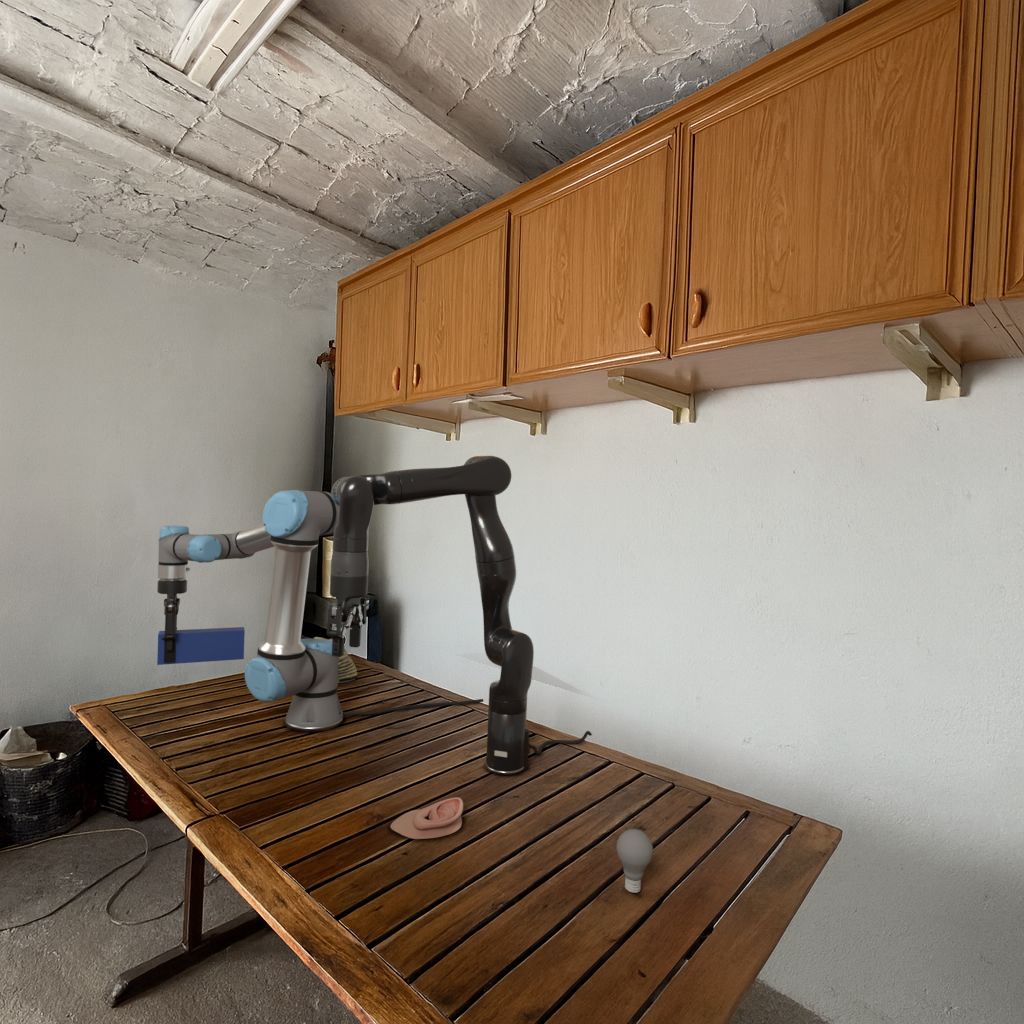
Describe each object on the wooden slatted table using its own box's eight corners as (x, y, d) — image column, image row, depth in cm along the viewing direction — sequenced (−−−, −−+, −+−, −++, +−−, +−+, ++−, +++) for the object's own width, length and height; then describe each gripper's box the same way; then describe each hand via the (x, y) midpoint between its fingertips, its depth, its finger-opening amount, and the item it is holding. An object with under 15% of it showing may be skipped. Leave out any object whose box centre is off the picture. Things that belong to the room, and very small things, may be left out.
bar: (157, 664, 179) (158, 634, 179) (158, 660, 184) (159, 630, 184) (243, 659, 189) (244, 630, 189) (243, 655, 194) (243, 626, 193)
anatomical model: (384, 813, 120) (406, 787, 131) (383, 834, 120) (405, 806, 131) (452, 824, 117) (468, 796, 128) (451, 845, 117) (467, 815, 128)
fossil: (297, 682, 213) (299, 637, 212) (348, 673, 225) (349, 631, 225) (308, 688, 206) (310, 642, 206) (360, 679, 218) (361, 636, 218)
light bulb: (610, 879, 108) (613, 822, 108) (644, 879, 109) (647, 822, 109) (619, 902, 102) (622, 840, 102) (655, 901, 103) (658, 840, 103)
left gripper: (186, 583, 176) (183, 666, 176) (188, 575, 192) (185, 651, 193) (155, 583, 173) (152, 668, 173) (160, 575, 189) (157, 653, 189)
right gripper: (353, 578, 122) (349, 661, 123) (379, 570, 137) (376, 645, 137) (316, 575, 124) (313, 658, 124) (346, 568, 138) (343, 642, 138)
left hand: (169, 659), depth 183 cm, fingers closed on bar, 5 cm apart
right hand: (346, 651), depth 130 cm, fingers open, 8 cm apart
